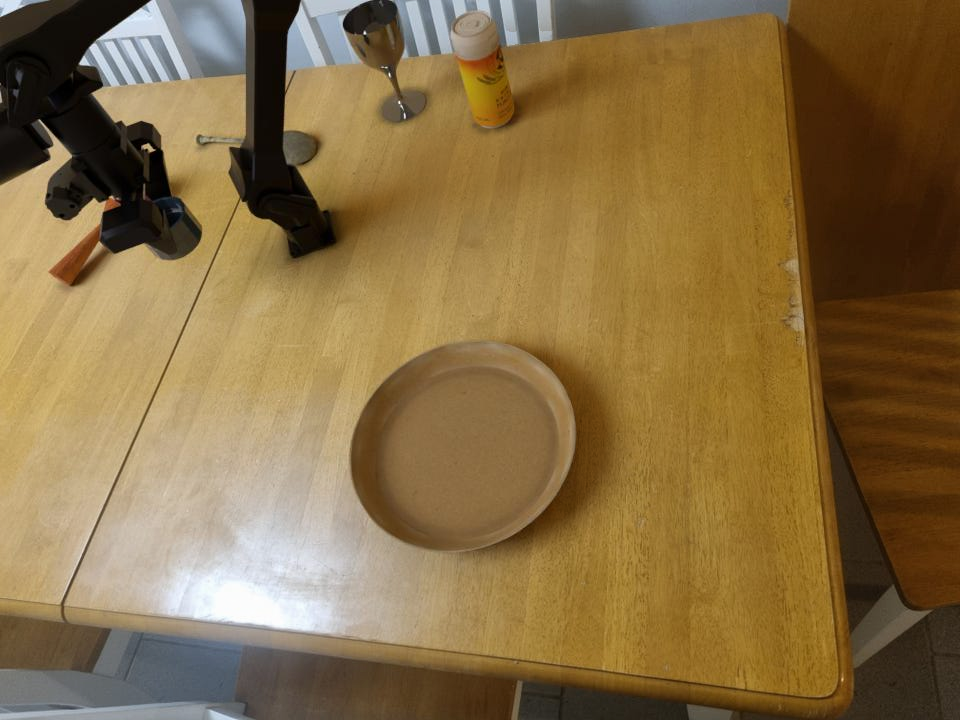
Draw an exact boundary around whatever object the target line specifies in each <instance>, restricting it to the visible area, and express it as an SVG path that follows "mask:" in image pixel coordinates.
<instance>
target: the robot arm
mask: <svg viewBox="0 0 960 720" xmlns="http://www.w3.org/2000/svg"><path fill="white" fill-rule="evenodd" d="M150 2H152V0H43V1H37V2H33V3H28V4H26V5H24V6H21V7H19V8H17V9H14V10H12V11H10V12H8V13H6V14H3V15H2V16H0V98H1V102H0V186H2V185H4V184H6V183H8V182H10V181H12V180H14V179H16V178H18V177H21V176H22V175H24V174H26V173H28V172H30V171H32V170H34V169H35V168H37V167H39V166H41V165H43V164H45V163H47V162H49V161H51V159H52V155H51V153H50V151H49V149H51V148H52V147H54V141H53V138H52V137H51V135H50V133H51V134H52V135H53V137H54V138H56V140H58V142H59V143H60V144H61V145H62V147H63V148H64V149H65V150H66V151H67V152H68V153H69V154H70V155H71V157H70V158H69V159H68V160H67V161H66V162H65V163H64V164H63V165H61V166H60V167H59V168H58V169H57V170H56V171H55V172H54V173H53V174H52V175H51V176H50V177H49V179H48V181H47V187H46V193H45V198H44V199H45V200H44V205H45V206H46V209H47V210H49V211H50V213H51V214H52V216H53V217H54V218H56V219H60V220H62V221H66V222H67V221H71V220H72V219H75V218H76V217H78V216H79V215H80V213H81V212H82V210H83V209H84V208H85V207H86V206H87V205H88V204H90V203H91V202H92V201H93V200H94V199H95V200H96V202H97V203H98V204H100V203H103V202H106V200H109V198H111V197H113V196H114V197H115V198H116V199H117V200H120V199H121V206H118V207H115V208H112V209H110V210H107V211H104V210H103V211H102V214H101V218H100V223H99V224H100V239H99V242H98V243H100V244H101V245H102V246H103V247H104V248H105V249H106V250H107V251H108V252H109V253H111V254H113V255H116V254H119V253H122V252H124V251H128V250H130V249H132V248H136V247H138V246H141V245H144V243H145V244H148V245H150V246H151V247H153V248H155V249H157V250H159V251H161V252H163V253H165V254H167V255H172V254H175V253H177V249H176V245H175V242H174V239H173V235H172V232H171V229H170V226H169V223H168V220H167V217H166V214H165V211H164V209H163V208H162V209H158V208H157V206H156V205H155V204H154V203H153V202H152V201H154V200H157V199H159V198H162V197H169V196H174V195H173V191H172V188H171V181H170V177H169V173H168V168H167V164H166V158H165V152H164V149H162V134H161V133H160V132H159V131H158V129H157V128H156V126H155V125H154V124H153V123H151V122H147V121H144V120H139V121H137V122H133V123H131V124H129V125H126V124H125V123H124V121H123V120H119V121H116V122H115V121H114V120H113V118H112V117H111V115H110V114H109V113H108V112H107V111H106V109H105V108H104V107H103V106H102V104H101V103H100V102H99V100H98V99H97V98H96V96H95V95H94V94H93V93H95V92H97V91H99V90H101V89H102V88H103V87H104V82H103V80H102V77H101V73H100V70H99V68H98V67H96V66H94V65H88V64H87V65H86V64H83V65H82V64H80V63H81V62H82V60H83V58H84V57H85V56H86V55H85V54H86V53H87V51H88V50H89V49H90V48H91V47H92V46H93V44H94V43H96V41H98V39H100V38H101V37H103V36H104V35H106V34H107V33H109V32H110V31H111V30H113V29H114V28H116V27H117V26H118V25H119V24H121V23H122V22H124V21H125V20H127V19H128V18H129V17H131V16H132V15H133V14H135V13H136V12H138V11H139V10H140V9H141V8H143V7H144V6H146V5H147V4H149V3H150ZM240 2H241V6H242V10H243V13H244V19H245V135H244V138H243V139H244V141H243V143H241V144H240V147H239V146H238V147H237V146H229V147H228V153H229V157H230V166H229V169H228V171H227V172H228V176H229V178H230V180H231V183H232V184H233V186H234V188H235V190H236V193H237V194H238V196H239V198H240V201H241V202H242V203H245V205H246V207H247V209H248V211H249V213H250V214H251V215H253V216H254V217H256V218H258V219H261V220H268V221H271V222H273V223H274V224H276V225H277V226H279V227H280V228H281V230H283V232H284V234H285V235H286V238H287V244H288V249H289V250H288V251H289V255H290V257H291V258H292V259H296V258H298V257H301V256H303V255H307V254H310V253H312V252H315V251H317V250H320V249H322V248H325V247H328V246H331V245H333V244H335V243H336V241H337V239H336V235H335V230H334V225H333V221H332V216H331V213H330V211H329V209H324V210H321V208H320V206H319V204H318V201H317V200H316V197H315V196H314V195H313V193H312V191H311V190H310V188H309V185H308V184H307V183H306V181H305V179H304V178H303V176H302V175H301V172H300V171H299V168H298V167H297V166H296V164H288V163H287V162H286V158H285V155H284V150H283V139H284V131H285V115H286V114H285V113H286V112H285V109H286V87H287V86H286V85H287V64H288V63H287V61H288V59H287V58H288V38H289V37H288V35H289V31H290V28H291V27H292V25H293V23H294V22H295V19H296V17H297V16H298V13H299V11H300V7H301V2H302V0H240ZM46 128H47V129H48V130H47V129H46ZM48 131H49V132H50V133H49V132H48ZM148 144H149V146H150V148H151V149H152V150H151V151H150V149H149V148H144V147H143V146H145V145H148ZM145 195H146V196H147V197H148V198H149V199H150V200H151V201H149V200H145Z"/></svg>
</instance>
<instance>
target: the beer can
mask: <svg viewBox="0 0 960 720" xmlns="http://www.w3.org/2000/svg"><path fill="white" fill-rule="evenodd" d="M450 27H451V30H450V41H451V44H452V47H453V50H454V55H455V58H456V61H457V65H458V68H459V71H460V75H461V79H462V82H463V86H464V90H465V93H466V96H467V100H468V103H469V104H468V105H469V107H470V111H471V114H472V118H473V121H474V122H475V123H476V124H478V125H479V126H481V127H483V128H485V129H497V128H501V127H503V126H505V125H506V124H507V123H508V122H509V121H510V120H511V119H512V116H513V115H514V114H515V109H516V108H515V102H514V98H513V94H512V90H511V84H510V80H509V76H508V71H507V68H506V64H505V62H506V61H505V58H504V53H503V50H502V45H501V40H500V37H499V32H498V26H497V23H496V21H495V20H494V19H493V18H492V15H491V14H490V13H489V12H488V11H485V10H479V9H475V10H469V11H467V12H464V13H462V14H460V15H458V16H457V17H456V18H455V19H454V20H453V22H452V23H451V26H450Z"/></svg>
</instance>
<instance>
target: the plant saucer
mask: <svg viewBox="0 0 960 720" xmlns="http://www.w3.org/2000/svg"><path fill="white" fill-rule="evenodd" d="M576 423H577V422H576V417H575V412H574V407H573V405H572V401H571V399H570V397H569V395H568V392H567V390H566V388H565V387H564V385H563V383H562V381H561V380H560V379H559V377H558V376H557V375H556V373H554V371H553V370H552V369H551V368H549V366H548V365H547V364H545V363H544V362H543V361H542V360H541V359H539V358H538V357H537V356H535V355H533V354H532V353H529V352H528V351H526V350H524V349H522V348H519V347H517V346H514V345H511V344H507V343H504V342H500V341H495V340H484V339H483V340H482V339H481V340H480V339H472V340H471V339H470V340H461V341H454V342H448V343H445V344H442V345H439V346H435V347H433V348H430V349H427V350H425V351H423V352H421V353H418V354H417V355H415V356H413V357H411V358H410V359H408V360H407V361H405V362H404V363H401V364H400V365H399V366H398V367H397V368H395V369H394V370H393V371H391V373H389V374H388V375H387V376H386V377H385V378H384V379H383V380H382V381H381V382H380V383H379V384H378V386H377V387H376V388H375V389H374V390H373V391H372V393H371V394H370V396H369V397H368V399H367V400H366V401H365V403H364V405H363V407H362V408H361V410H360V412H359V415H358V417H357V420H356V422H355V425H354V427H353V430H352V434H351V438H350V444H349V452H348V469H349V475H350V476H349V477H350V481H351V485H352V489H353V491H354V494H355V496H356V499H357V501H358V503H359V505H360V507H361V508H362V510H363V511H364V513H365V515H367V517H368V518H369V520H370V521H371V522H372V523H373V524H374V525H375V526H376V527H377V528H378V529H379V530H381V531H382V532H383V533H384V534H385V535H387V536H389V537H390V538H392V539H393V540H395V541H397V542H398V543H401V544H403V545H405V546H408V547H411V548H413V549H417V550H420V551H426V552H431V553H440V554H441V553H442V554H454V553H455V554H456V553H465V552H466V553H467V552H470V551H471V552H472V551H477V550H480V549H484V548H487V547H490V546H493V545H496V544H498V543H500V542H503V541H504V540H507V539H509V538H510V537H512V536H514V535H516V534H518V533H519V532H520V531H522V530H523V529H524V528H526V527H527V526H528V525H530V524H531V523H533V522H534V521H535V520H537V518H538V517H539V516H540V515H541V514H542V513H543V512H544V511H545V510H546V509H547V507H548V506H550V504H551V503H552V502H553V500H554V499H555V498H556V496H557V494H558V493H559V491H560V490H561V488H562V486H563V485H564V484H565V481H566V479H567V477H568V474H569V472H570V469H571V466H572V463H573V460H574V455H575V450H576V443H577V424H576Z"/></svg>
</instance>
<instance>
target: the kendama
mask: <svg viewBox="0 0 960 720" xmlns="http://www.w3.org/2000/svg"><path fill="white" fill-rule="evenodd" d="M145 200H149V201H151V200H150V199H149V198H148V197H147V196H146V195H145ZM118 206H121V199H120V200H117V199H116V198H115V197H114V196H112V198H111V197H109V200H106V201H105V204H104V209H103V212H104V211H107V210H110V209H112V208H115V207H118ZM99 239H100V223H99V224H97V226H96V227H94V228H93V229H92V230H91V231H90V232H89V233H88V234H87V235H85V237H84V238H82V239H81V240H80V242H78V243H77V244H76V245H75V246H74V247H73V248H72V249H71V250H70V251H68V253H66V254H65V255H64V256H63V257H62V258H61V259H60V260H59V261H57V263H56V264H54V266H52V267H51V268H50V269H49V270H48V271H47V273H48V274H50V275H51V276H52V277H54V278H55V279H56V280H58V281H59V282H61V283H63V284H64V285H67V286H68V287H71V285H72V284H73V282H74V280H75V279H76V278H77V276H78V274H79V273H80V272H81V270H82V268H83V267H84V265H85V264H86V262H87V260H88V259H89V257H90V256H91V254H93V251H94V250H95V248H96V246H97V245H98V244H99V243H100V242H99Z"/></svg>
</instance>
